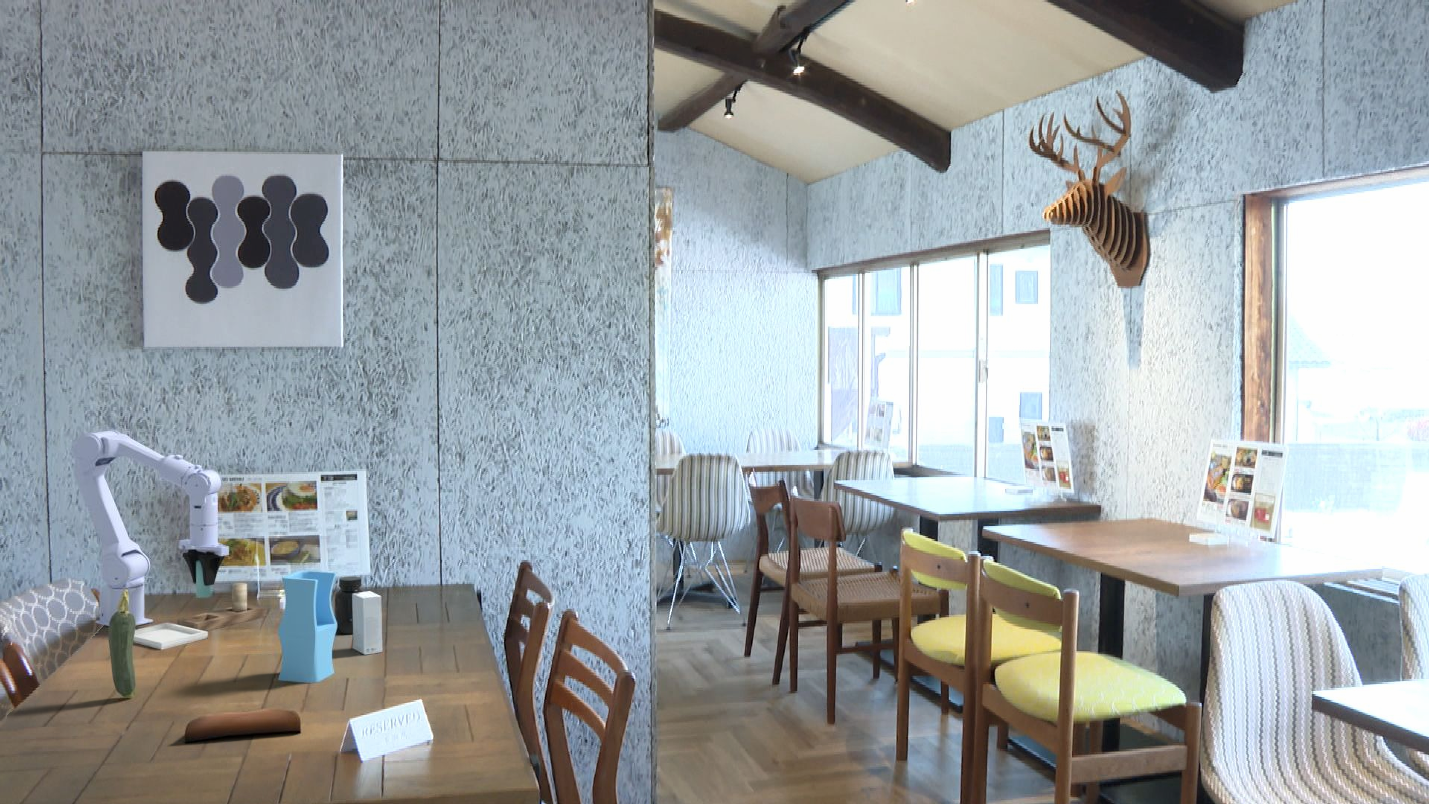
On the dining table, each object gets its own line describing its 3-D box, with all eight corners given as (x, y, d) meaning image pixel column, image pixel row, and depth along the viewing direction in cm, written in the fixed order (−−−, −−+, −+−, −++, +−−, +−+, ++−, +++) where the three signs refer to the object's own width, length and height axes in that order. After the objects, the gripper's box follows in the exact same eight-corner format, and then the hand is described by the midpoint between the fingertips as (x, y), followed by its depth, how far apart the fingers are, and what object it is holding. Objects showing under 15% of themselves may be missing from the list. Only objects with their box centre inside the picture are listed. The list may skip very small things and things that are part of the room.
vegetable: (124, 704, 203) (123, 593, 202) (103, 702, 204) (102, 592, 203) (141, 696, 208) (140, 588, 206) (120, 694, 208) (120, 586, 207)
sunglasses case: (301, 717, 199) (301, 690, 195) (301, 749, 193) (301, 722, 190) (188, 726, 193) (186, 699, 189) (185, 760, 187) (182, 733, 184)
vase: (315, 683, 218) (315, 580, 216) (278, 680, 219) (278, 577, 218) (336, 672, 225) (337, 572, 224) (300, 668, 227) (301, 569, 226)
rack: (197, 632, 251) (197, 623, 251) (177, 628, 255) (177, 619, 254) (265, 616, 267) (265, 607, 267) (246, 612, 270) (246, 603, 270)
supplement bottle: (359, 635, 252) (359, 582, 252) (329, 634, 253) (329, 581, 252) (369, 627, 259) (369, 575, 259) (339, 626, 259) (340, 574, 259)
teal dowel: (193, 596, 255) (193, 561, 255) (205, 594, 258) (205, 559, 258) (202, 598, 254) (202, 563, 253) (214, 595, 256) (214, 560, 256)
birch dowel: (229, 618, 264) (229, 584, 263) (240, 615, 267) (240, 582, 266) (238, 620, 262) (238, 586, 262) (249, 617, 265) (250, 583, 265)
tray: (120, 639, 244) (120, 633, 244) (167, 628, 254) (167, 622, 254) (161, 649, 238) (161, 643, 237) (207, 638, 247) (207, 631, 247)
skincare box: (383, 652, 240) (383, 595, 239) (362, 655, 237) (363, 598, 236) (371, 645, 245) (372, 590, 244) (351, 649, 242) (351, 592, 241)
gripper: (167, 523, 255) (167, 582, 256) (209, 529, 248) (209, 591, 249) (194, 519, 261) (195, 577, 262) (237, 525, 254) (236, 585, 255)
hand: (203, 583), depth 256 cm, fingers closed on teal dowel, 3 cm apart
